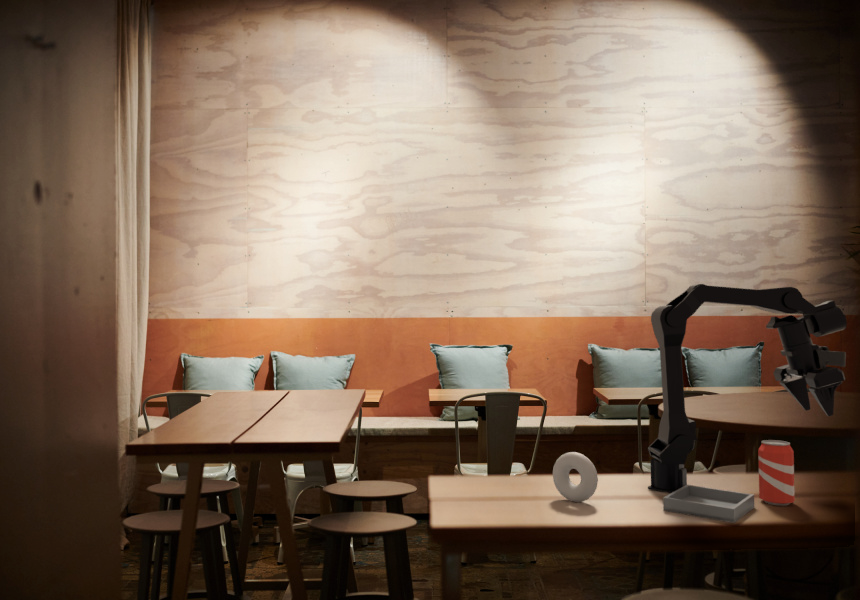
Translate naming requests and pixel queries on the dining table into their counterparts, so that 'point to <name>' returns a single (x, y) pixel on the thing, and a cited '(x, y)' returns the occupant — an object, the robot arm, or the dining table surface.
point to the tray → (709, 503)
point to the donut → (586, 472)
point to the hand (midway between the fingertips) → (818, 412)
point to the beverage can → (776, 472)
